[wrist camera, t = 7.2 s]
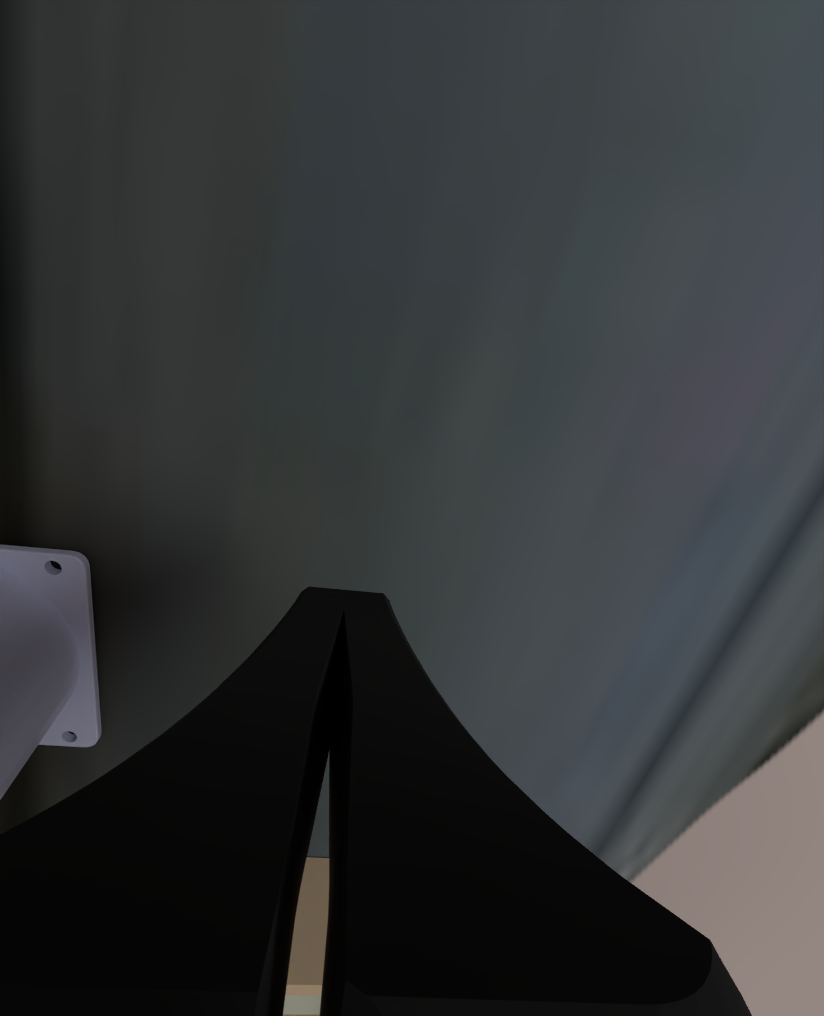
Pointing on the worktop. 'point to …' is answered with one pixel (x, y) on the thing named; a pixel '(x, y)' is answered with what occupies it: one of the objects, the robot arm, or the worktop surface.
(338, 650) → the robot arm
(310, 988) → the box
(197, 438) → the worktop surface
